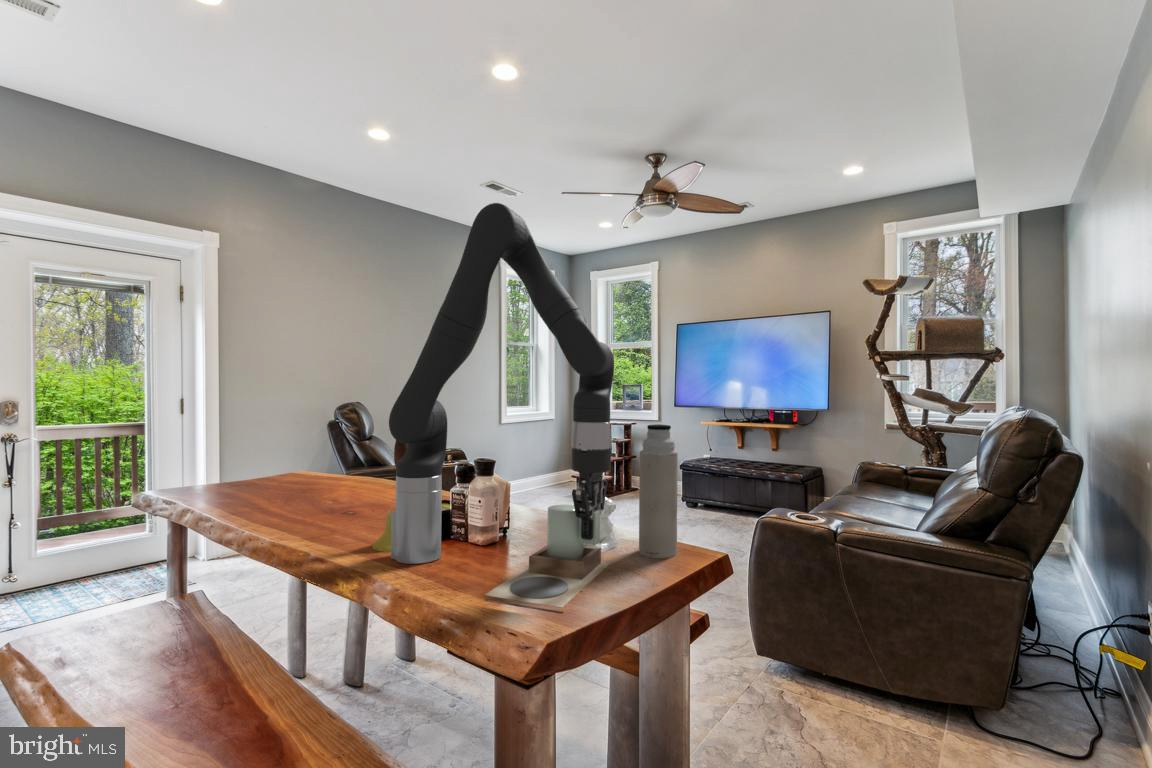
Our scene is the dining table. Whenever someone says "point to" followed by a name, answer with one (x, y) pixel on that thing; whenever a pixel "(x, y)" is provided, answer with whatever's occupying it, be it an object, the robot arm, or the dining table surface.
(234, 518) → the dining table surface
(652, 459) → the thermos bottle
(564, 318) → the robot arm
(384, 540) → the handbell
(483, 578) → the dining table surface
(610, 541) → the seated beast figurine
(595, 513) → the sage jug
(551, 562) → the jug stand
